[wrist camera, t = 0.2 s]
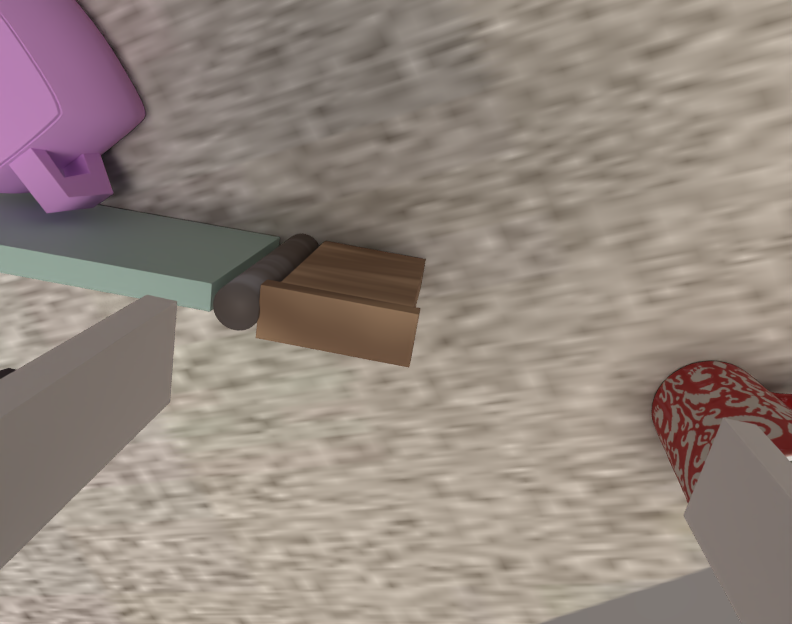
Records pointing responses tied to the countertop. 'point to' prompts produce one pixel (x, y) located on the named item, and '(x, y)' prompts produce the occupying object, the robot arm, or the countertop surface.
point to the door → (125, 251)
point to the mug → (714, 414)
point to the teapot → (59, 104)
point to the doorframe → (329, 299)
